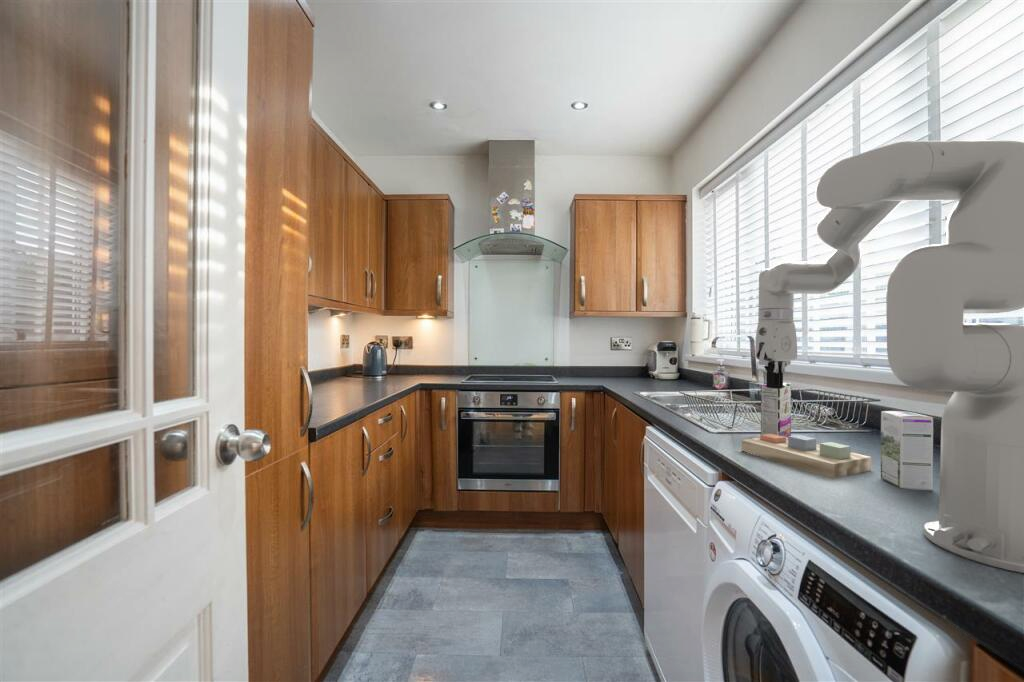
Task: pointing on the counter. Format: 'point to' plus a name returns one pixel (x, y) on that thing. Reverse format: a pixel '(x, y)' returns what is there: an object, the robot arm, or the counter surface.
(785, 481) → the counter surface
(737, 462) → the counter surface
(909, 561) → the counter surface
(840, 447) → the sage green button
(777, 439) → the terracotta button
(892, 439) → the syrup box
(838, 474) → the button panel
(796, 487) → the counter surface
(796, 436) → the slate grey button
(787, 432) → the candy bar box
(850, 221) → the robot arm
